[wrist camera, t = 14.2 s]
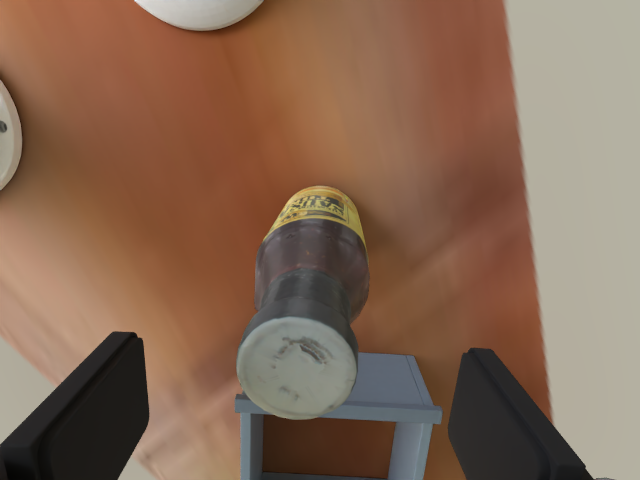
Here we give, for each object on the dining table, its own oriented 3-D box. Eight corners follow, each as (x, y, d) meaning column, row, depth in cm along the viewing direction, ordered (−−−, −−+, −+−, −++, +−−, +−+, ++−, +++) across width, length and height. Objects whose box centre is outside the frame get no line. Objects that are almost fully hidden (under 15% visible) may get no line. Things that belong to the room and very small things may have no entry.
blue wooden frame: (251, 479, 39) (235, 560, 31) (253, 341, 34) (234, 399, 27) (396, 487, 39) (413, 570, 32) (417, 351, 34) (443, 411, 27)
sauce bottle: (341, 170, 30) (372, 241, 11) (368, 239, 31) (438, 409, 12) (266, 201, 30) (171, 319, 11) (297, 267, 32) (258, 468, 13)
